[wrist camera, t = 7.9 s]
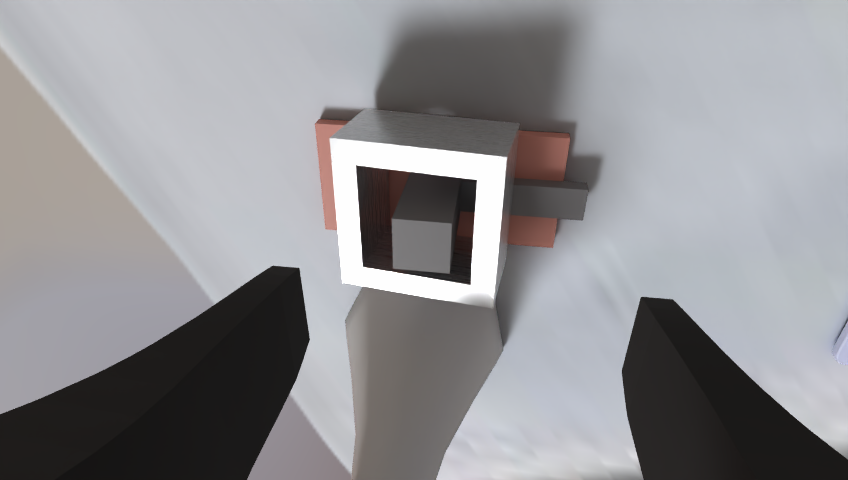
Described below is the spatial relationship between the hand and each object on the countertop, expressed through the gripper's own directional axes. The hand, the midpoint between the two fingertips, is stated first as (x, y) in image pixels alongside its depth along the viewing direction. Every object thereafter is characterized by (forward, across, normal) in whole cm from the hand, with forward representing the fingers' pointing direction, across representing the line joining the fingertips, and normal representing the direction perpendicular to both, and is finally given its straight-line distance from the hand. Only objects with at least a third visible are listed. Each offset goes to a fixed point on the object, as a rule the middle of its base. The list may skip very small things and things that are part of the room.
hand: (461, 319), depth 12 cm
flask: (+10, +2, +9) cm, 13 cm away
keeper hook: (+10, +2, +1) cm, 10 cm away
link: (+9, +2, +1) cm, 9 cm away
